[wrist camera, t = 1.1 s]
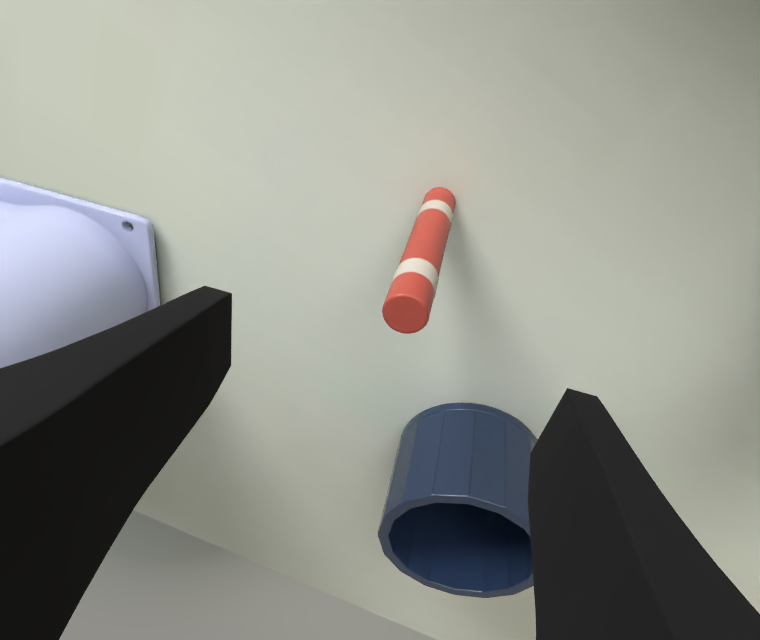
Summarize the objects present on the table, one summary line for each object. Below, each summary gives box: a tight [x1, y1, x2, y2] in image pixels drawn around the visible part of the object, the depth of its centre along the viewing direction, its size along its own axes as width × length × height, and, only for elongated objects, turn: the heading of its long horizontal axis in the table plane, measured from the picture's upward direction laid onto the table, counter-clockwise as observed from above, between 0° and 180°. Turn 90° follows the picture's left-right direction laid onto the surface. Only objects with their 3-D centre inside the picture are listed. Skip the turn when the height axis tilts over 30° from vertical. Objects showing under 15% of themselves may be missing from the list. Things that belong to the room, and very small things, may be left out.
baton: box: [382, 187, 455, 333], centre depth 16 cm, size 1×1×8 cm
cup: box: [378, 403, 537, 598], centre depth 24 cm, size 7×7×6 cm
